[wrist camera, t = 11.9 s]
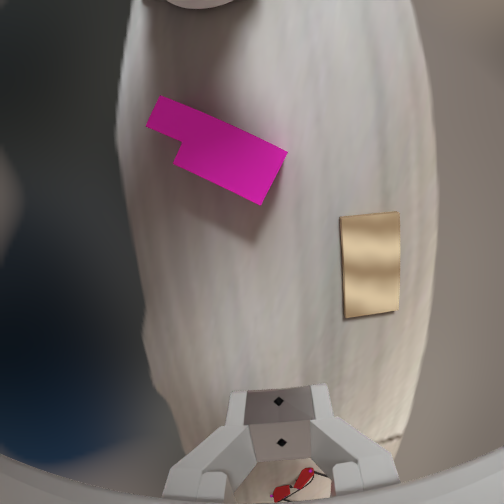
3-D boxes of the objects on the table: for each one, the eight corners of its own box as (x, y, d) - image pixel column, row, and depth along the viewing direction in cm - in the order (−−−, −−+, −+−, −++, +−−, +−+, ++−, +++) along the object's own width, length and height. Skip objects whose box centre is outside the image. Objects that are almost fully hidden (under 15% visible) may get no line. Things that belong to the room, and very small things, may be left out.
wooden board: (339, 216, 41) (341, 218, 40) (396, 211, 40) (399, 212, 39) (344, 314, 45) (345, 318, 43) (395, 306, 44) (398, 309, 43)
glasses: (309, 460, 55) (311, 478, 50) (364, 477, 57) (367, 493, 52) (269, 487, 58) (268, 504, 54) (323, 503, 60) (324, 518, 56)
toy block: (260, 205, 34) (262, 197, 41) (288, 152, 32) (284, 153, 39) (136, 147, 33) (158, 148, 40) (160, 95, 31) (178, 105, 38)
